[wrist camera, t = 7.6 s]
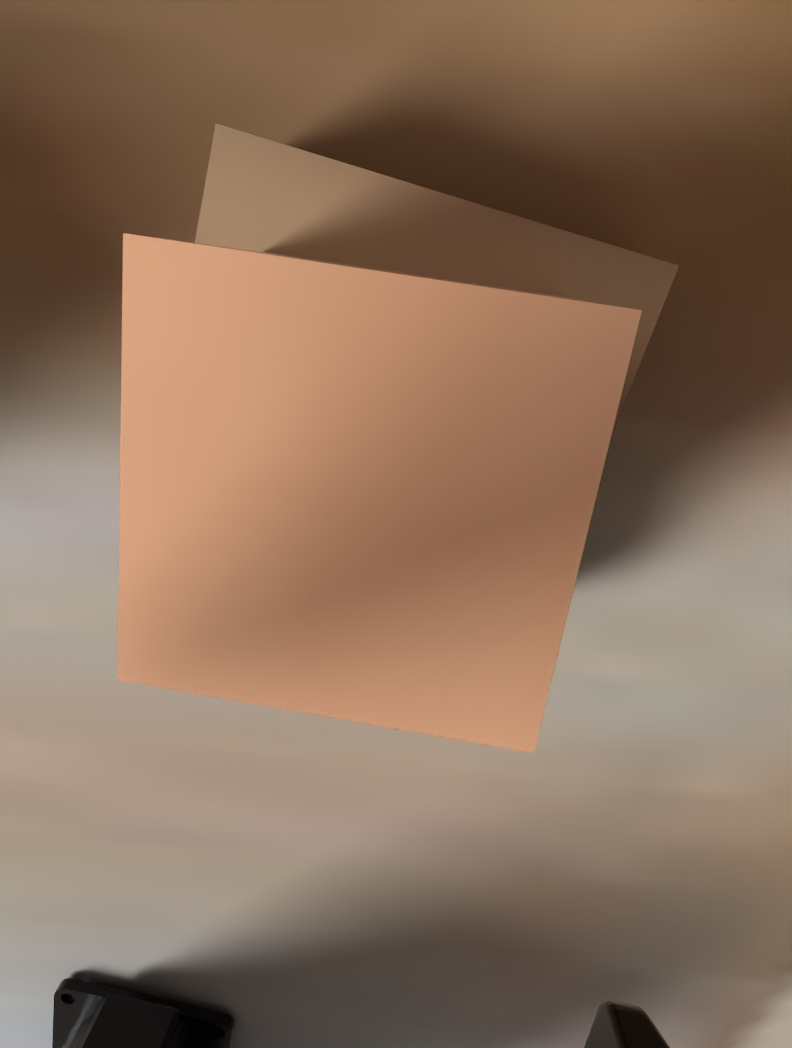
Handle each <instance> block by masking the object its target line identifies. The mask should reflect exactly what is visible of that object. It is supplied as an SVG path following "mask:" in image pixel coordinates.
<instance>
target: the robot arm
mask: <svg viewBox="0 0 792 1048" xmlns="http://www.w3.org/2000/svg"><path fill="white" fill-rule="evenodd" d="M234 1028H235V1021H234V1020H233V1018H232V1017H231V1016H230V1015H228V1014H226V1013H224V1012H220V1011H215V1010H211V1009H206V1008H202V1007H197V1006H193V1005H188V1004H184V1003H180V1002H175V1001H171V1000H166V999H162V998H157V997H153V996H149V995H144V994H140V993H135V992H131V991H126V990H122V989H117V988H113V987H109V986H104V985H100V984H95V983H91V982H86V981H82V980H78V979H72V978H68V979H64V980H63V981H62V982H61V983H60V985H59V987H58V989H57V990H56V992H55V995H54V1016H53V1048H232V1041H233V1035H234ZM584 1048H670V1047H669V1046H668V1044H667V1043H666V1041H665V1040H664V1038H663V1037H662V1035H661V1034H660V1032H659V1031H658V1029H657V1028H656V1027H655V1025H654V1024H653V1022H652V1021H651V1019H650V1018H649V1016H648V1015H647V1014H646V1013H645V1012H644V1011H643V1010H642V1009H641V1008H640V1007H638V1006H635V1005H630V1004H626V1003H621V1002H616V1001H612V1000H606V1001H604V1002H603V1003H602V1004H601V1005H600V1007H599V1009H598V1012H597V1014H596V1017H595V1020H594V1022H593V1025H592V1028H591V1031H590V1033H589V1036H588V1039H587V1041H586V1044H585V1047H584Z"/></svg>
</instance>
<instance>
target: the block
mask: <svg viewBox="0 0 792 1048" xmlns="http://www.w3.org/2000/svg"><path fill="white" fill-rule="evenodd" d="M195 243H201V244H208V245H216V246H223V247H231V248H238V249H246V250H253V251H260V252H267V253H274V254H281V255H288V256H294V257H301V258H308V259H314V260H321V261H328V262H335V263H341V264H348V265H355V266H361V267H368V268H375V269H382V270H388V271H395V272H402V273H409V274H415V275H422V276H429V277H435V278H442V279H449V280H456V281H462V282H469V283H476V284H482V285H489V286H496V287H503V288H509V289H516V290H523V291H530V292H536V293H543V294H550V295H556V296H563V297H570V298H576V299H581V300H587V301H592V302H598V303H604V304H609V305H615V306H621V307H626V308H632V309H637V310H642V312H641V316H640V320H639V324H638V328H637V333H636V337H635V341H634V345H633V349H632V353H631V357H630V361H629V365H628V369H627V373H626V378H625V382H624V386H623V390H622V394H621V398H620V402H619V406H618V410H617V414H616V419H615V423H614V427H613V431H614V428H615V426H616V423H617V421H618V418H619V416H620V413H621V411H622V408H623V406H624V403H625V401H626V398H627V396H628V393H629V391H630V388H631V386H632V383H633V381H634V378H635V376H636V373H637V371H638V368H639V365H640V363H641V360H642V358H643V355H644V353H645V350H646V348H647V345H648V343H649V340H650V338H651V335H652V333H653V330H654V328H655V325H656V323H657V320H658V318H659V315H660V313H661V310H662V308H663V305H664V303H665V300H666V298H667V295H668V293H669V290H670V288H671V285H672V283H673V280H674V278H675V275H676V273H677V270H678V268H679V265H676V264H673V263H670V262H666V261H663V260H660V259H657V258H653V257H650V256H647V255H644V254H640V253H637V252H634V251H630V250H627V249H624V248H621V247H617V246H614V245H611V244H608V243H604V242H601V241H598V240H595V239H591V238H588V237H585V236H582V235H578V234H575V233H572V232H568V231H565V230H562V229H559V228H555V227H552V226H549V225H546V224H542V223H539V222H536V221H533V220H529V219H526V218H523V217H520V216H516V215H513V214H510V213H507V212H503V211H500V210H497V209H493V208H490V207H487V206H484V205H480V204H477V203H474V202H471V201H467V200H464V199H461V198H458V197H454V196H451V195H448V194H445V193H441V192H438V191H435V190H432V189H428V188H425V187H422V186H418V185H415V184H412V183H409V182H405V181H402V180H399V179H396V178H392V177H389V176H386V175H383V174H379V173H376V172H373V171H370V170H366V169H363V168H360V167H357V166H353V165H350V164H347V163H343V162H340V161H337V160H334V159H330V158H327V157H324V156H321V155H317V154H314V153H311V152H308V151H304V150H301V149H298V148H295V147H291V146H288V145H285V144H282V143H278V142H275V141H272V140H268V139H265V138H262V137H259V136H255V135H252V134H249V133H246V132H242V131H239V130H236V129H233V128H229V127H226V126H223V125H220V124H215V129H214V135H213V141H212V147H211V152H210V158H209V164H208V169H207V175H206V181H205V186H204V192H203V198H202V203H201V209H200V215H199V220H198V226H197V232H196V237H195ZM613 431H612V433H613ZM611 436H612V435H611Z"/></svg>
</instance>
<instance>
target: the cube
mask: <svg viewBox="0 0 792 1048" xmlns="http://www.w3.org/2000/svg"><path fill="white" fill-rule="evenodd" d="M641 312H642V310H637V309H632V308H626V307H621V306H615V305H609V304H604V303H598V302H592V301H587V300H581V299H576V298H570V297H563V296H556V295H550V294H543V293H536V292H530V291H523V290H516V289H509V288H503V287H496V286H489V285H482V284H476V283H469V282H462V281H456V280H449V279H442V278H435V277H429V276H422V275H415V274H409V273H402V272H395V271H388V270H382V269H375V268H368V267H361V266H355V265H348V264H341V263H335V262H328V261H321V260H314V259H308V258H301V257H294V256H288V255H281V254H274V253H267V252H260V251H253V250H246V249H238V248H231V247H223V246H216V245H208V244H201V243H193V242H186V241H179V240H171V239H164V238H156V237H149V236H141V235H134V234H126V233H123V279H122V361H121V444H120V526H119V608H118V680H122V681H127V682H133V683H139V684H144V685H150V686H156V687H161V688H167V689H173V690H178V691H184V692H190V693H195V694H201V695H207V696H212V697H218V698H224V699H229V700H235V701H241V702H246V703H252V704H258V705H263V706H269V707H275V708H280V709H286V710H292V711H297V712H303V713H309V714H314V715H320V716H326V717H331V718H337V719H343V720H348V721H354V722H360V723H365V724H371V725H377V726H382V727H388V728H394V729H399V730H405V731H411V732H416V733H422V734H428V735H433V736H439V737H445V738H450V739H456V740H462V741H467V742H473V743H479V744H484V745H490V746H496V747H501V748H507V749H513V750H518V751H524V752H530V753H534V750H535V746H536V742H537V738H538V734H539V730H540V726H541V722H542V717H543V713H544V709H545V705H546V701H547V697H548V693H549V689H550V685H551V681H552V676H553V672H554V668H555V664H556V660H557V656H558V652H559V648H560V644H561V640H562V636H563V631H564V627H565V623H566V619H567V615H568V611H569V607H570V603H571V599H572V595H573V590H574V586H575V582H576V578H577V574H578V570H579V566H580V562H581V558H582V554H583V550H584V545H585V541H586V537H587V533H588V529H589V525H590V521H591V517H592V513H593V509H594V504H595V500H596V496H597V492H598V488H599V484H600V480H601V476H602V472H603V468H604V464H605V459H606V455H607V451H608V447H609V443H610V439H611V435H612V431H613V427H614V423H615V419H616V414H617V410H618V406H619V402H620V398H621V394H622V390H623V386H624V382H625V378H626V373H627V369H628V365H629V361H630V357H631V353H632V349H633V345H634V341H635V337H636V333H637V328H638V324H639V320H640V316H641Z"/></svg>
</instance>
